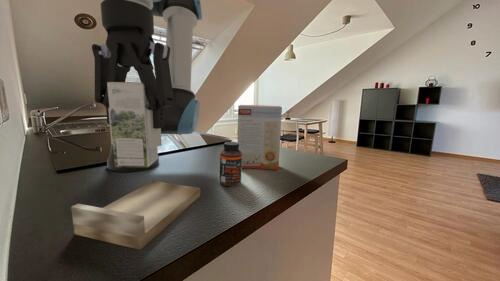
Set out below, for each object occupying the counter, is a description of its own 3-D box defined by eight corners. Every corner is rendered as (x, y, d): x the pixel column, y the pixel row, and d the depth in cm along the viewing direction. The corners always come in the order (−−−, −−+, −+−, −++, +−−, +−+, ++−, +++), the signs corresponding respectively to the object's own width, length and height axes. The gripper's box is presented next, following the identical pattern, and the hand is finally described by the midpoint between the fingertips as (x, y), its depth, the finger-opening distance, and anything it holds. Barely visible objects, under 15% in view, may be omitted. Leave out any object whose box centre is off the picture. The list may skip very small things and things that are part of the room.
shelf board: (74, 234, 38) (71, 206, 37) (153, 188, 57) (152, 169, 56) (140, 249, 35) (138, 220, 34) (200, 195, 54) (200, 176, 53)
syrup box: (158, 159, 45) (155, 83, 42) (147, 168, 39) (142, 81, 36) (129, 158, 44) (123, 82, 41) (113, 168, 38) (105, 80, 36)
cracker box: (278, 165, 80) (281, 105, 76) (278, 170, 74) (282, 106, 70) (239, 162, 81) (240, 104, 77) (236, 168, 75) (238, 104, 71)
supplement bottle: (224, 188, 58) (224, 146, 56) (216, 180, 63) (216, 141, 61) (244, 185, 61) (246, 144, 59) (235, 177, 66) (236, 140, 64)
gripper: (56, 0, 35) (73, 143, 40) (168, -10, 30) (173, 155, 35) (99, 17, 42) (109, 136, 47) (194, 11, 38) (196, 145, 42)
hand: (136, 144), depth 41 cm, fingers closed on syrup box, 7 cm apart
